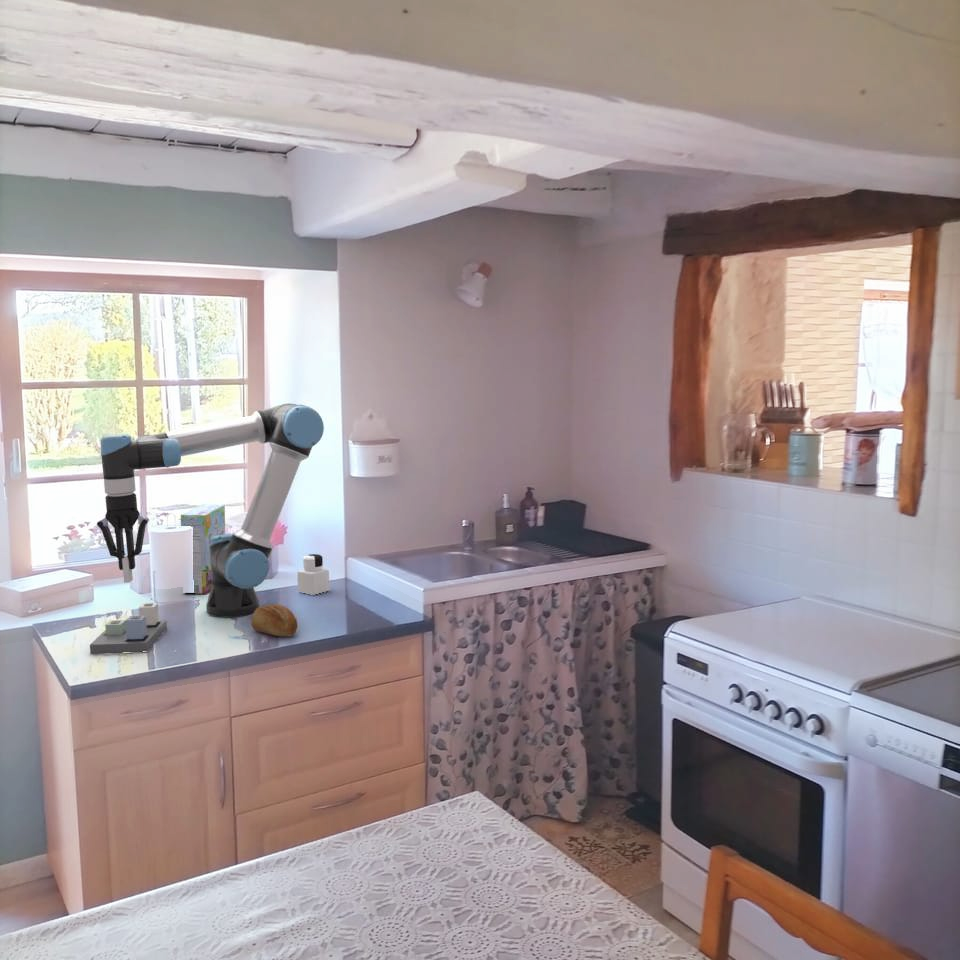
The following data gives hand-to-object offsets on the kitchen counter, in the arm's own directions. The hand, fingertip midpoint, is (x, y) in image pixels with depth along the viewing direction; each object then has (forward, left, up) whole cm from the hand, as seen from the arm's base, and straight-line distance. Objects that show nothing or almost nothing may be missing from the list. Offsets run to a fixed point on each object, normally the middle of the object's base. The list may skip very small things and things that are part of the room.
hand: (128, 581), depth 240 cm
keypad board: (0, +2, -16) cm, 16 cm away
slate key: (-4, +8, -13) cm, 16 cm away
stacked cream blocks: (-44, -44, -16) cm, 64 cm away
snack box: (-8, -55, -16) cm, 57 cm away
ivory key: (-4, -4, -13) cm, 14 cm away
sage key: (+3, +2, -16) cm, 16 cm away
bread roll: (-37, -1, -16) cm, 41 cm away
